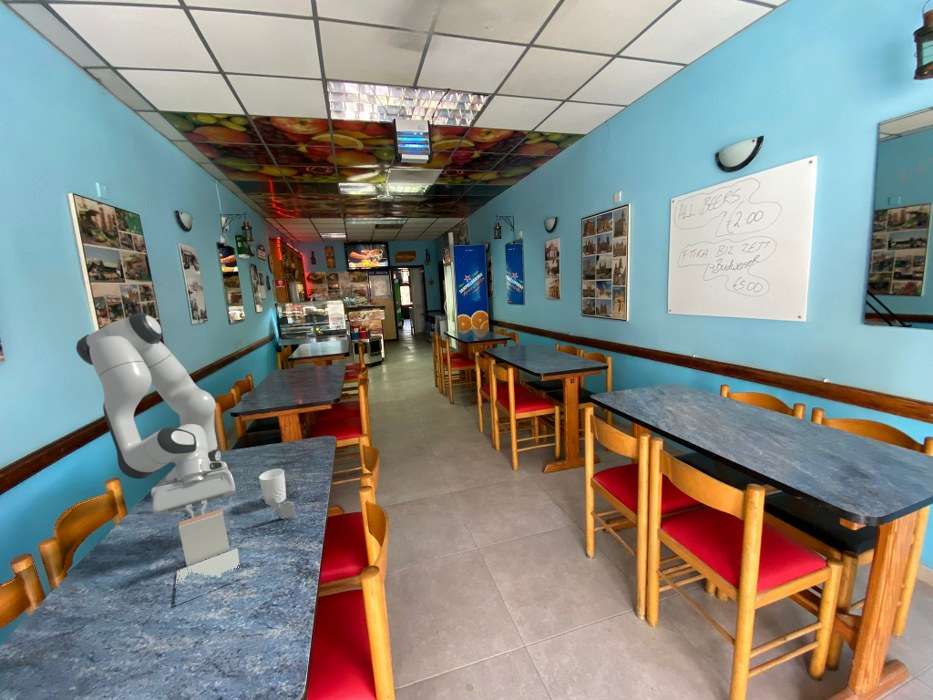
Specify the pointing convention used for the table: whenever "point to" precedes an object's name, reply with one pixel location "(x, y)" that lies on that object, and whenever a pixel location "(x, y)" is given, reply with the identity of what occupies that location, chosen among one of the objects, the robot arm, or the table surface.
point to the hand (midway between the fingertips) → (198, 518)
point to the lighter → (283, 508)
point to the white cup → (273, 485)
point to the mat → (212, 565)
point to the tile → (203, 536)
